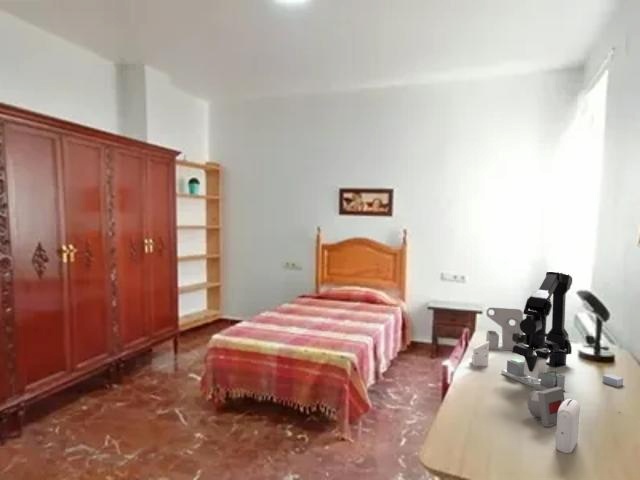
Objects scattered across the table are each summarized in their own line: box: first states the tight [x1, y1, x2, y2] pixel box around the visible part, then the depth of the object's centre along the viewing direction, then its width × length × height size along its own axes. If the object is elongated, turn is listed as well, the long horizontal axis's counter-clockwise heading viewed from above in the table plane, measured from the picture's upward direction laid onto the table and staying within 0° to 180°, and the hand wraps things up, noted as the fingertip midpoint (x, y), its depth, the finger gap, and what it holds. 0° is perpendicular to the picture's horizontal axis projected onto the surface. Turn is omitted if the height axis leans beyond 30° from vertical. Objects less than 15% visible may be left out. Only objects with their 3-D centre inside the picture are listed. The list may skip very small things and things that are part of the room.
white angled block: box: [471, 341, 490, 367], centre depth 187 cm, size 4×10×9 cm, turn 84°
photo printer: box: [555, 398, 580, 454], centre depth 122 cm, size 10×4×12 cm, turn 140°
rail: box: [501, 358, 566, 393], centre depth 168 cm, size 7×22×6 cm, turn 26°
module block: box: [524, 357, 547, 380], centre depth 167 cm, size 4×6×7 cm, turn 26°
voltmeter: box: [527, 371, 566, 427], centre depth 144 cm, size 27×11×10 cm, turn 155°
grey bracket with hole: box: [485, 307, 524, 351], centre depth 212 cm, size 17×10×18 cm, turn 79°
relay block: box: [602, 373, 624, 388], centre depth 166 cm, size 5×4×4 cm
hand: (534, 370), depth 167 cm, fingers closed on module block, 4 cm apart
